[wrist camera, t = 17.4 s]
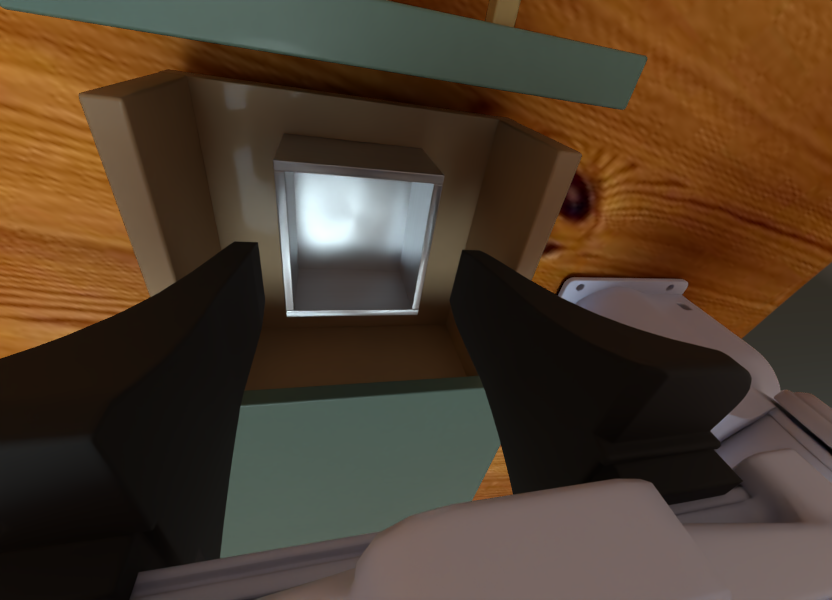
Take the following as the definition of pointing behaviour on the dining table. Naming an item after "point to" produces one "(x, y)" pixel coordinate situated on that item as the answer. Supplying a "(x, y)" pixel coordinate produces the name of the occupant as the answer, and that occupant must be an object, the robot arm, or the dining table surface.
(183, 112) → the drawer
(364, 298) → the open metal box
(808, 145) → the dining table surface
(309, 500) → the cabinet
